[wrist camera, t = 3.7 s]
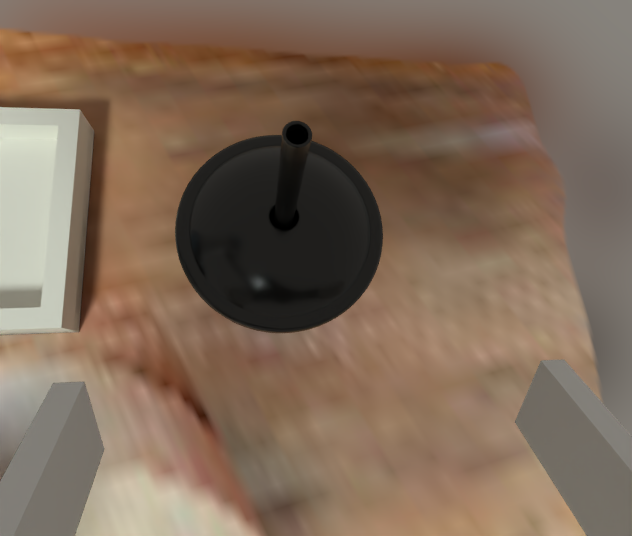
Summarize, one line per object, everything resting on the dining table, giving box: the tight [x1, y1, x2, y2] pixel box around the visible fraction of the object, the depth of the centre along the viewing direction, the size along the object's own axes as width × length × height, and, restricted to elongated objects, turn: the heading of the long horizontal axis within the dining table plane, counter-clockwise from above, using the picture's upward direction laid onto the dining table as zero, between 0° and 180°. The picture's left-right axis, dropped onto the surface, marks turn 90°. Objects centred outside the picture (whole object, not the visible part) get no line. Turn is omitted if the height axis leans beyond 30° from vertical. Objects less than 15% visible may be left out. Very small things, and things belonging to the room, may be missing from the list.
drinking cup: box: [175, 121, 383, 333], centre depth 19 cm, size 8×8×20 cm
